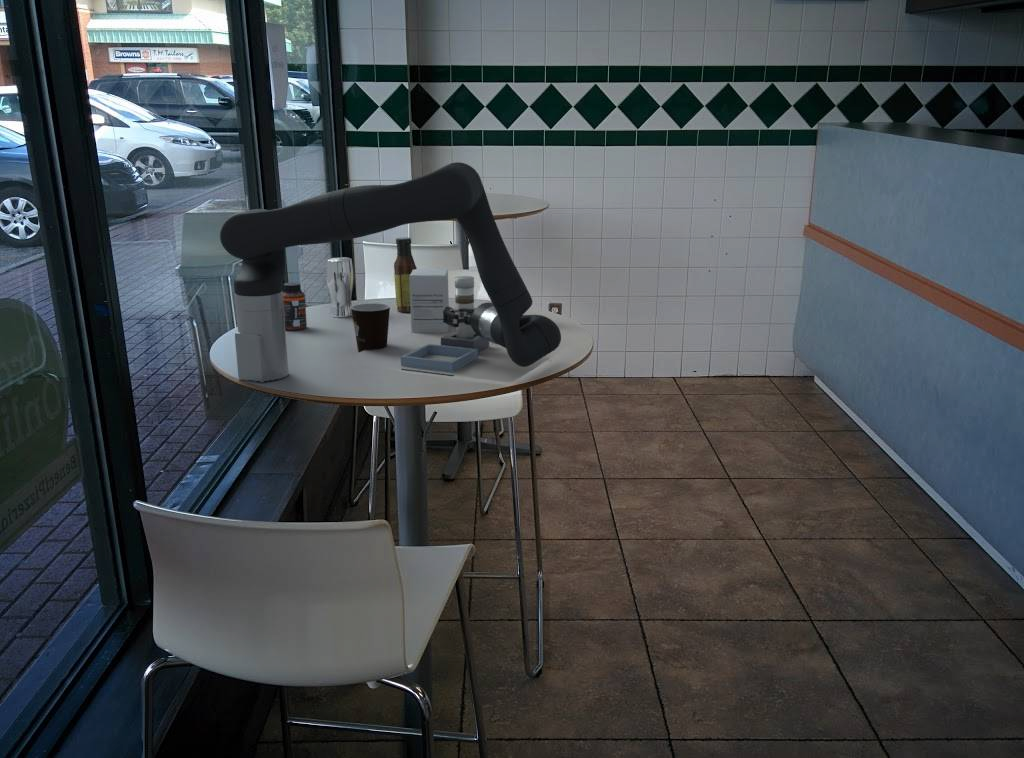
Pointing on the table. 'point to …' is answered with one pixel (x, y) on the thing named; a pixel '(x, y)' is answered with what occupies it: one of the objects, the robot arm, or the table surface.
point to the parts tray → (417, 361)
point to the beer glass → (340, 285)
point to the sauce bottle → (403, 273)
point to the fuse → (464, 303)
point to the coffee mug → (371, 325)
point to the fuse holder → (465, 342)
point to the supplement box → (428, 300)
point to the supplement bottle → (294, 307)
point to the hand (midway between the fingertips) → (464, 309)
